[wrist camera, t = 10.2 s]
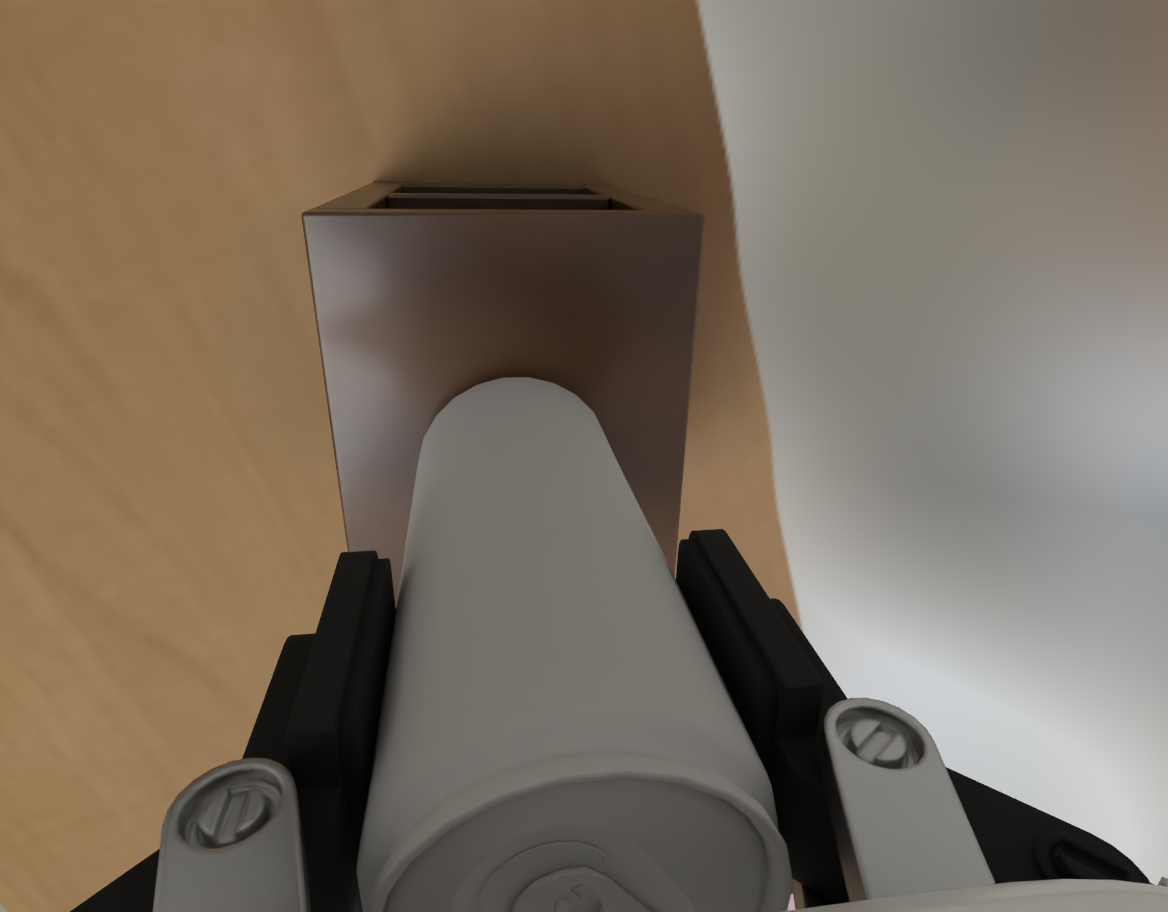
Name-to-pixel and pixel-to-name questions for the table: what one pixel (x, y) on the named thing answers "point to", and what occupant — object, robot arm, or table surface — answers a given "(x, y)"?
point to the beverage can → (553, 692)
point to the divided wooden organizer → (500, 328)
